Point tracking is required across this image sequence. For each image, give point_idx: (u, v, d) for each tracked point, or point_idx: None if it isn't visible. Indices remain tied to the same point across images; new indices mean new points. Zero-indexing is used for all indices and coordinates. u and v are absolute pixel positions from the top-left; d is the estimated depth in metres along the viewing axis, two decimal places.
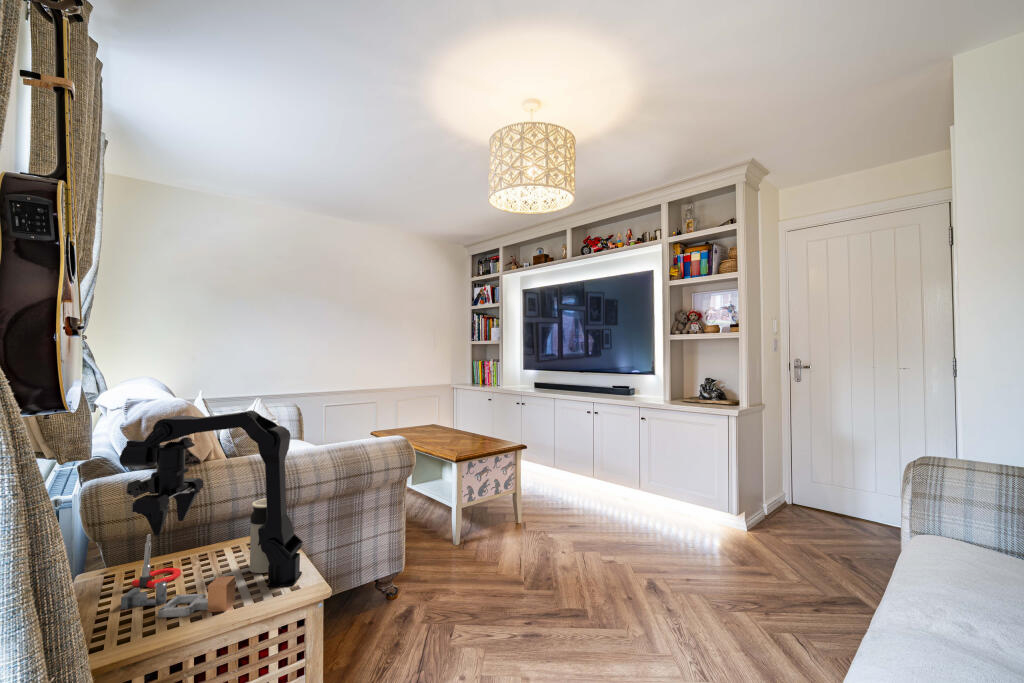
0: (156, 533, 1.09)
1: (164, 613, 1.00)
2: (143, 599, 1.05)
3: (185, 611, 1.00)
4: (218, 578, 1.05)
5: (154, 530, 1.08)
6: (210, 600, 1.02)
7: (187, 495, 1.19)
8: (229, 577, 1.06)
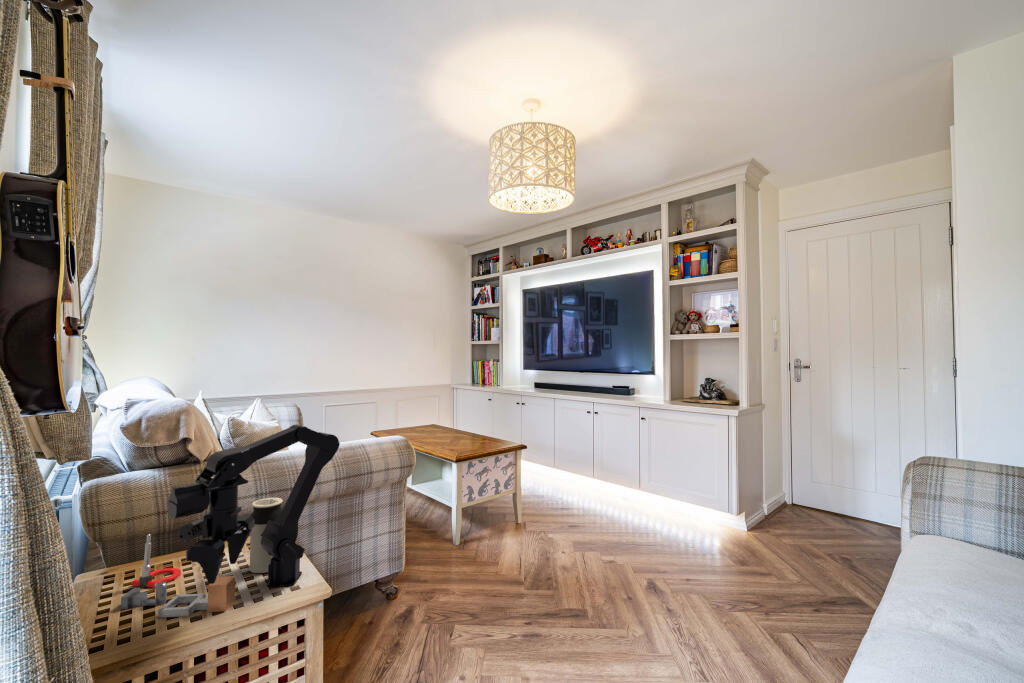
0: (211, 581, 1.00)
1: (164, 613, 1.00)
2: (143, 599, 1.05)
3: (185, 611, 1.00)
4: (218, 578, 1.05)
5: (209, 578, 0.99)
6: (210, 600, 1.02)
7: (239, 536, 1.10)
8: (229, 577, 1.06)
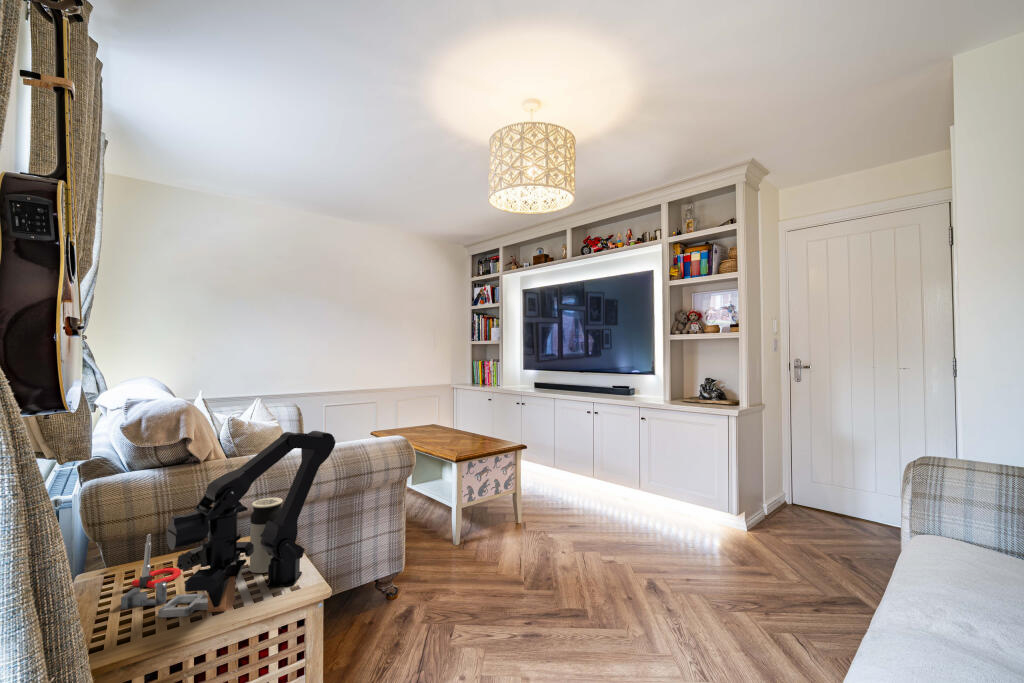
0: (215, 605, 1.02)
1: (164, 613, 1.00)
2: (143, 599, 1.05)
3: (185, 611, 1.00)
4: None
5: (214, 601, 1.02)
6: (210, 600, 1.02)
7: (233, 567, 1.07)
8: None
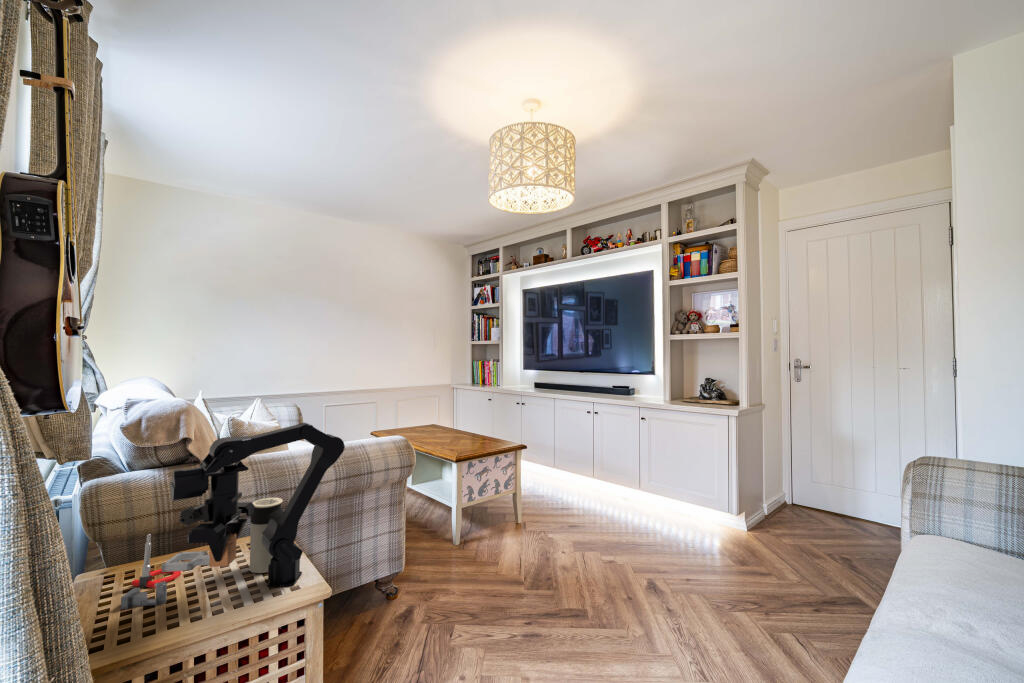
0: (217, 559, 1.04)
1: (167, 567, 1.03)
2: (143, 599, 1.05)
3: (187, 566, 1.03)
4: None
5: (215, 556, 1.04)
6: (212, 555, 1.05)
7: (234, 525, 1.10)
8: (230, 534, 1.08)
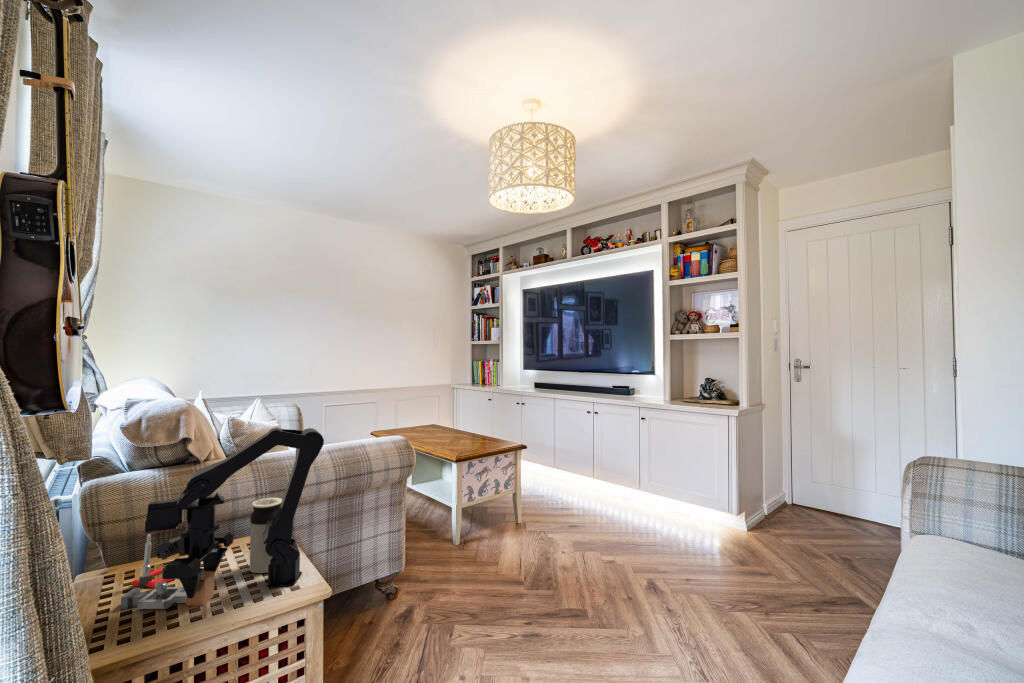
0: (190, 596, 1.03)
1: (143, 605, 1.02)
2: None
3: (163, 604, 1.03)
4: None
5: (188, 593, 1.03)
6: None
7: (214, 554, 1.11)
8: (209, 572, 1.08)
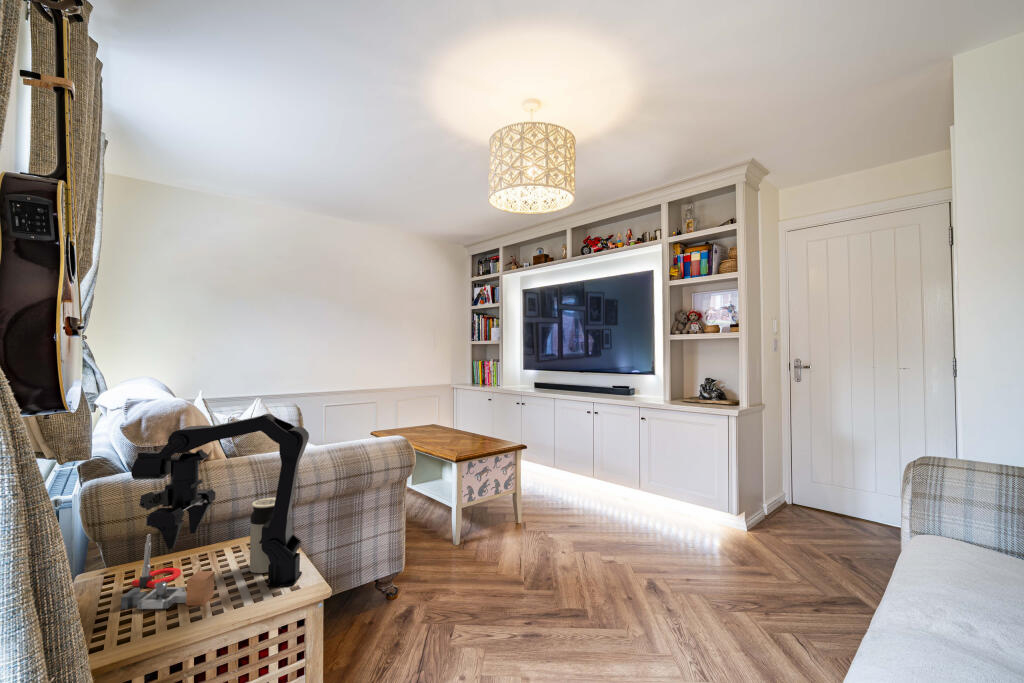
0: (170, 547, 1.06)
1: (143, 605, 1.02)
2: None
3: (163, 604, 1.03)
4: (198, 572, 1.08)
5: (168, 543, 1.06)
6: (189, 594, 1.04)
7: (199, 507, 1.17)
8: (209, 572, 1.08)
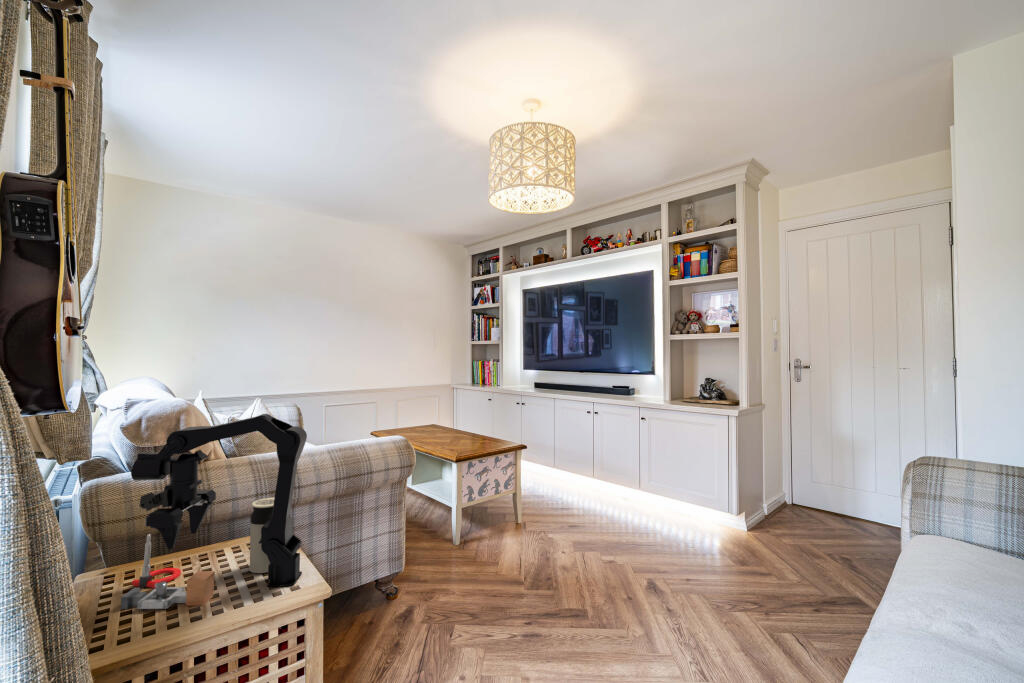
0: (169, 547, 1.07)
1: (143, 605, 1.02)
2: None
3: (163, 604, 1.03)
4: (198, 572, 1.08)
5: (168, 544, 1.07)
6: (189, 594, 1.04)
7: (200, 507, 1.17)
8: (209, 572, 1.08)
